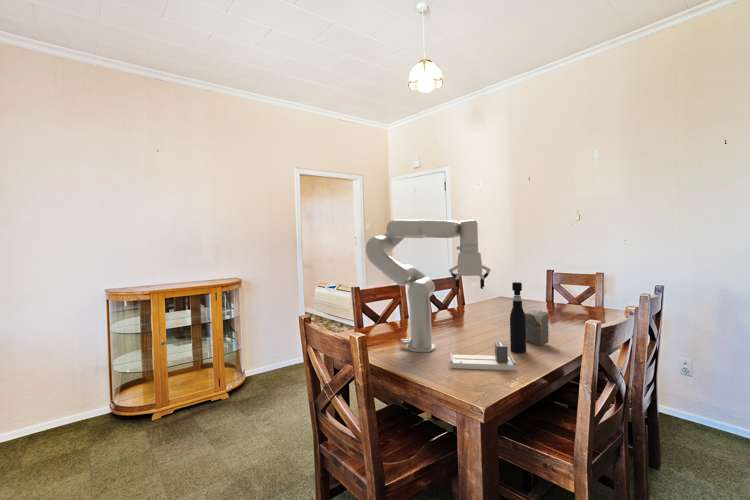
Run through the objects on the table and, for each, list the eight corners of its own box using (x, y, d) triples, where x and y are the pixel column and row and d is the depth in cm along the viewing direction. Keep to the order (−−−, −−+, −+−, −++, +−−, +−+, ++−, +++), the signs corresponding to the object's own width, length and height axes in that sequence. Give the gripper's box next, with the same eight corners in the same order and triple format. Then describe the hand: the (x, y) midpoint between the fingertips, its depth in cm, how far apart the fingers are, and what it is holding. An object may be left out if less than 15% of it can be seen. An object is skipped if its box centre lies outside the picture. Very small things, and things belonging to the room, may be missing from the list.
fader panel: (450, 367, 140) (450, 360, 140) (450, 359, 150) (450, 352, 150) (515, 370, 135) (515, 363, 135) (511, 361, 145) (511, 354, 145)
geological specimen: (521, 340, 172) (520, 309, 171) (530, 338, 174) (530, 308, 174) (540, 346, 162) (539, 313, 162) (549, 344, 165) (549, 312, 164)
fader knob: (496, 361, 138) (496, 346, 138) (494, 356, 144) (494, 341, 144) (507, 362, 137) (507, 346, 137) (505, 357, 143) (505, 342, 143)
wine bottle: (527, 354, 153) (526, 283, 152) (511, 353, 154) (510, 283, 153) (524, 349, 159) (523, 281, 158) (509, 348, 160) (507, 282, 159)
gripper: (448, 249, 152) (449, 290, 153) (491, 248, 149) (492, 289, 149) (448, 249, 160) (449, 287, 160) (489, 248, 156) (490, 287, 157)
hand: (470, 288), depth 155 cm, fingers open, 9 cm apart
